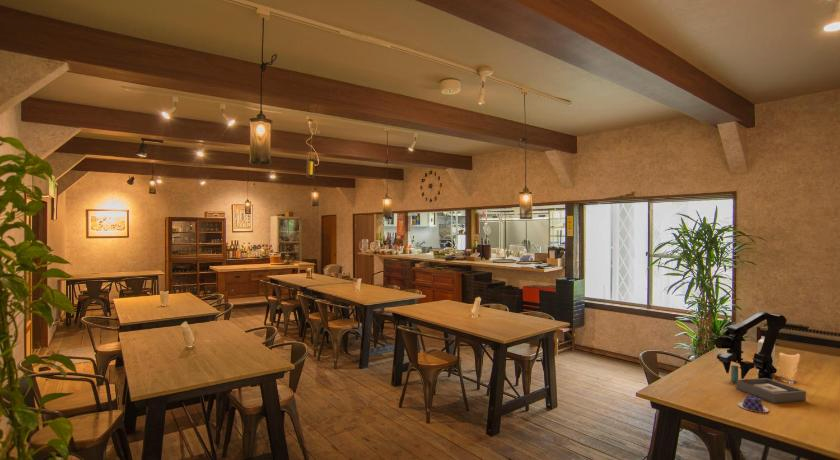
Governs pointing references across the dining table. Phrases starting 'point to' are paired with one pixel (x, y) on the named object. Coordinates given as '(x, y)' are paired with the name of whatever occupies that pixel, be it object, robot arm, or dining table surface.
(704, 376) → the dining table surface
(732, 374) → the peg
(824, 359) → the dining table surface
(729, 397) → the dining table surface
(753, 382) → the box
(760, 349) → the milk
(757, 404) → the checkered hat
